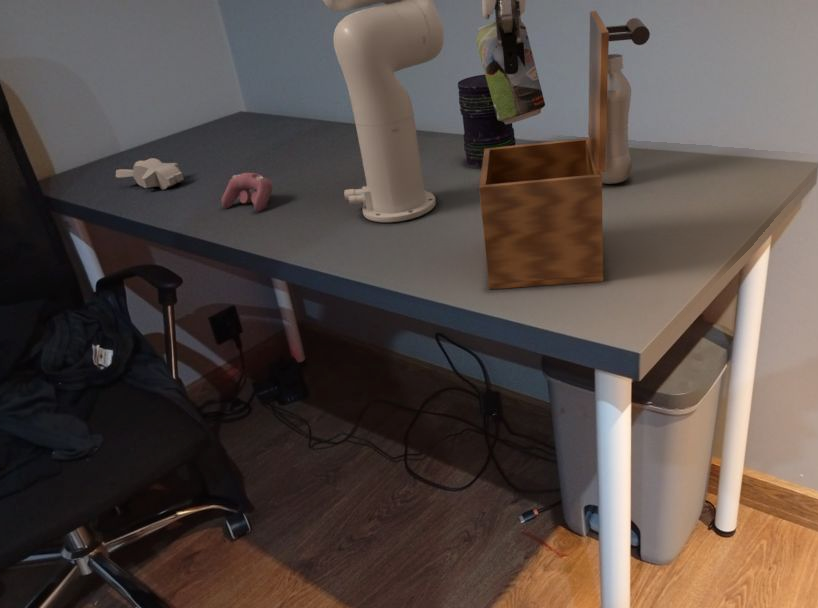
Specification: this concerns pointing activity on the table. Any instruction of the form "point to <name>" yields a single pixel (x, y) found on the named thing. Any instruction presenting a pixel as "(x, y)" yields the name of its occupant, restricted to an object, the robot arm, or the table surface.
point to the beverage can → (510, 78)
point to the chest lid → (605, 76)
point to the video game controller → (241, 188)
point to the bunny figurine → (153, 173)
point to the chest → (542, 214)
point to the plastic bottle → (617, 123)
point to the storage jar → (481, 120)
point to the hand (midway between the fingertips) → (512, 72)
